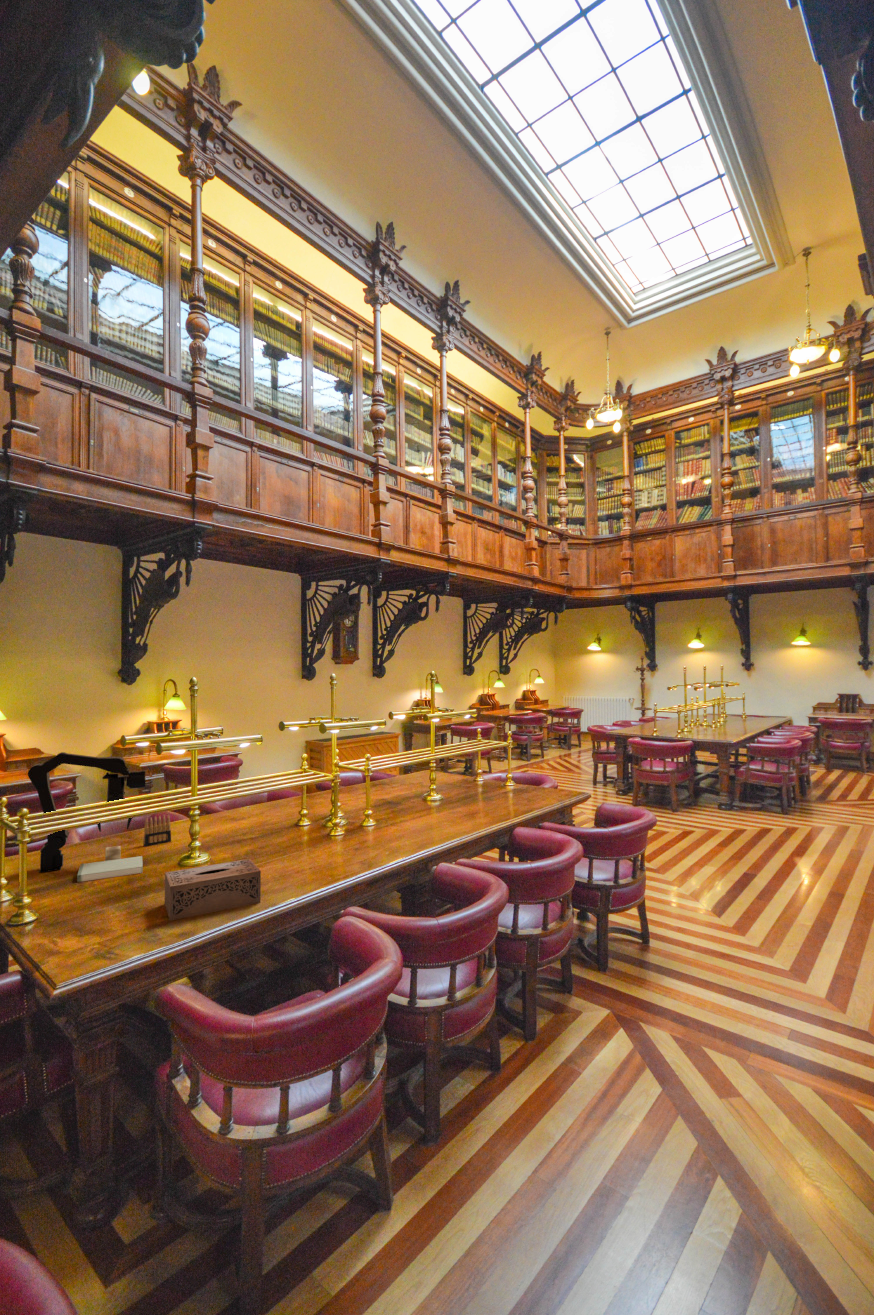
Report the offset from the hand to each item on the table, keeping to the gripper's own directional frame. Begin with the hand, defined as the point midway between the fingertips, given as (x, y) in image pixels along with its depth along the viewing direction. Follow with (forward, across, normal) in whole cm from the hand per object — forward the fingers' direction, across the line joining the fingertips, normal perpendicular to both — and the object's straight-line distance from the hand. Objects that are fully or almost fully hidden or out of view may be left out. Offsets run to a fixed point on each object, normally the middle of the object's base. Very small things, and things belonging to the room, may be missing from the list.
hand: (113, 830), depth 220 cm
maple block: (+12, 0, 0) cm, 12 cm away
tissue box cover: (+12, +28, -65) cm, 71 cm away
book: (+12, 0, -14) cm, 18 cm away
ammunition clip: (+12, +17, +18) cm, 27 cm away
